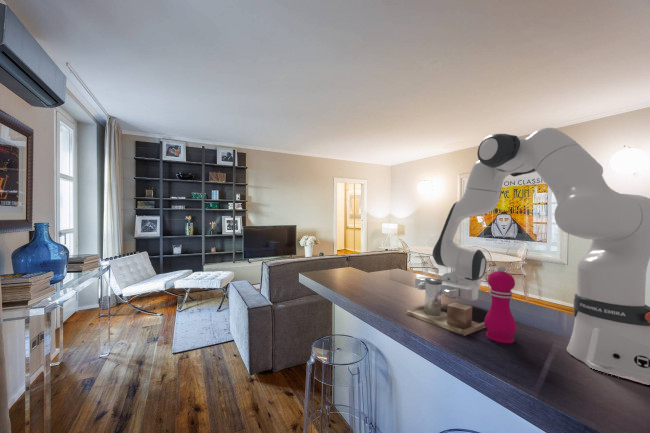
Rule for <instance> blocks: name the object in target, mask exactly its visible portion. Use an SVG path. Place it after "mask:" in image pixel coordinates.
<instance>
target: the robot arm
mask: <svg viewBox="0 0 650 433" xmlns="http://www.w3.org/2000/svg"><path fill="white" fill-rule="evenodd" d="M477 158H478V160H477V161H476V162H475V163H474V164H473V166H472V168H471V170H470V172H469V176H468V179H467V182H466V186H465V190H464V193H463V195H462V196H461V198H460V199H459V200H458V201H456V202H454V203H453V204H452V206H451V207H450V210H449V212H448V215H447V218H446V220H445V222H444V225H443V227H442V230H441V232H440V234H439V238H438V239H437V242H436V243H435V245H434V246H433V250H432V253H431V254H432V255H431V256H432V258H433V260H434V261H435V263H436V264H437V265H438V266H442V267H444V268H450V269H454V271H451V272H446V273H443V274H442V275H441V276H440V277H439V278H437V277H435V278H436V279H441V280H442V287H441V295H444V296H445V297H447V298H449V299H461V300H465V301H471V302H473V301H477V300H479V299H478V298H479V290H480V289H479V288H480V286H481V285H482V284H481V283H482V278H483V276H484V275H485V272H486V270H487V263H488V262H487V259H486V256H485V254H484V252H483V251H482V250H480V249H478V248H474V247H471V246H468V245H467V246H466V245H462V244H460V243H456V242H454V238H455V235H456V233H457V231H458V228H459V226H460V224H461V223H462V221H463V220H465V219H468V218H471V217H477V216H482V215H486V214H488V213H490V212H492V211H493V210H494V209H496V207H497V205H498V203H499V201H500V197H501V192H502V186H503V183H504V180H505V179H506V178H507V177H508V176H509V175H510V176H511V177H513V178H514V177H518V176H522V175H527V174H531V173H535V172H536V173H537V174H538V175H539V176H540V178H541V179H542V180H543V182H544V183H545V184H546V185H547V186H548V187H549V189H550V190H551V192H552V193H553V196H554V198H555V200H556V203H557V205H556V207H555V209H554V220H555V223H556V225H557V227H558V228H559V229H560V230H561V231H562V232H564V233H566V234H568V235H570V236H571V235H572V236H575V237H577V238H581V239H584V240H585V239H586V240H591V243H590V246H589V248H588V250H587V252H586V254H585V255H584V256H583V257H582V258H581V259H579V261H578V264H577V274H576V276H577V277H576V279H577V280H576V282H577V284H576V293H575V294H574V298H573V306H572V307H573V308H572V309H573V316H574V318H575V319H574V322H573V323H574V324H573V329H572V332H571V337H570V339H569V341H568V345H567V347H566V351H567V353H569V354H570V355H571V356H573V357H574V358H575V359H577V360H579V361H581V362H582V363H584V364H586V366H588V368H590V369H591V368H592V370H593V369H595V370H598V371H602V372H607V373H613V374H617V375H620V376H628V377H633V378H635V379H638V380H640V381H643V382H647V383H649V384H650V306H649V305H647V304H646V282H647V272H648V271H647V270H648V264H649V261H650V198H649V197H646V196H644V195H639V194H629V193H628V194H627V193H620V192H617V191H615V190H614V189H612V188H611V187H610V186H609V185H608V184H607V182H606V181H605V178H604V176H603V174H604V168H603V166H602V165H601V164H600V163H599V162H598V161H597V160H596V159H595V158H594V157H593V156H592V155H591V154H590V153H589V152H588V151H587V150H586V149H585V148H583V147H582V145H581V144H579V143H578V142H577V141H576V140H574V138H573V137H571V136H569V135H568V134H566V133H565V132H563V131H561V130H560V129H557V128H555V127H545V128H544V127H543V128H541V129H537V130H536V131H534V132H533V133H532V134H530V135H529V136H528V137H526V138H524V137H520V136H517V135H514V134H508V133H494V134H490V135H488V136H485V137H484V139H482V140H481V142H480V144H479V145H478V148H477ZM425 278H434V277H432V276H417V277H415V278H414V287H415V289H417V290H419V291H425V290H426V282H425ZM595 370H594V371H595ZM598 371H597V372H598Z"/></svg>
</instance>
